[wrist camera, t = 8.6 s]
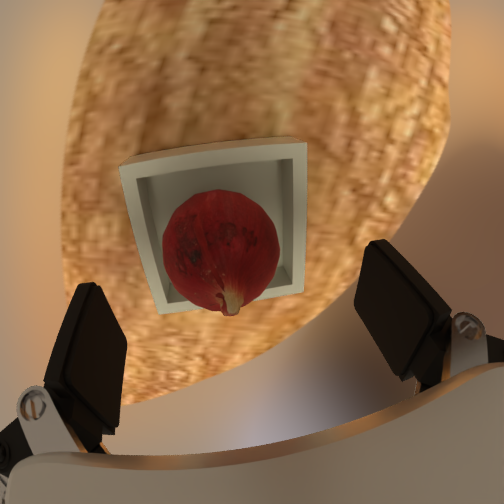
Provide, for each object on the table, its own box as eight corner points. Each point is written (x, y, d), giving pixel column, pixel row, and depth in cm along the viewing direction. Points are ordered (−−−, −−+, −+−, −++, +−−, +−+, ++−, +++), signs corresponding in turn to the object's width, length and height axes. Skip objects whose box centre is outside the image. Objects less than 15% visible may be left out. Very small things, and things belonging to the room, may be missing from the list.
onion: (149, 215, 16) (120, 299, 9) (224, 154, 15) (247, 199, 8) (209, 275, 19) (220, 371, 12) (279, 225, 18) (328, 305, 11)
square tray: (130, 156, 15) (118, 166, 12) (290, 136, 16) (307, 142, 14) (161, 288, 20) (158, 314, 17) (291, 269, 21) (303, 291, 18)
